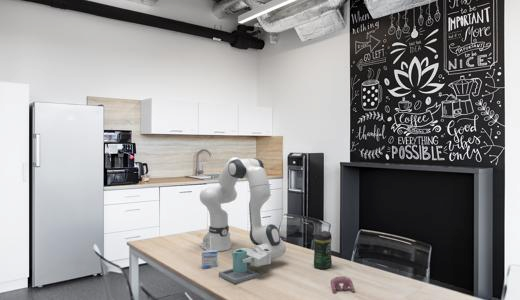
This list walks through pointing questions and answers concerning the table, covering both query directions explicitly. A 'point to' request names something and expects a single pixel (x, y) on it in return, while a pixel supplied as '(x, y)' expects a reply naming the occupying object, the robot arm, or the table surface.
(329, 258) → the coffee jar
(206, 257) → the medicine box
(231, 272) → the tray
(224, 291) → the table surface
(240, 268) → the tabbed sleeve
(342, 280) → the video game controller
